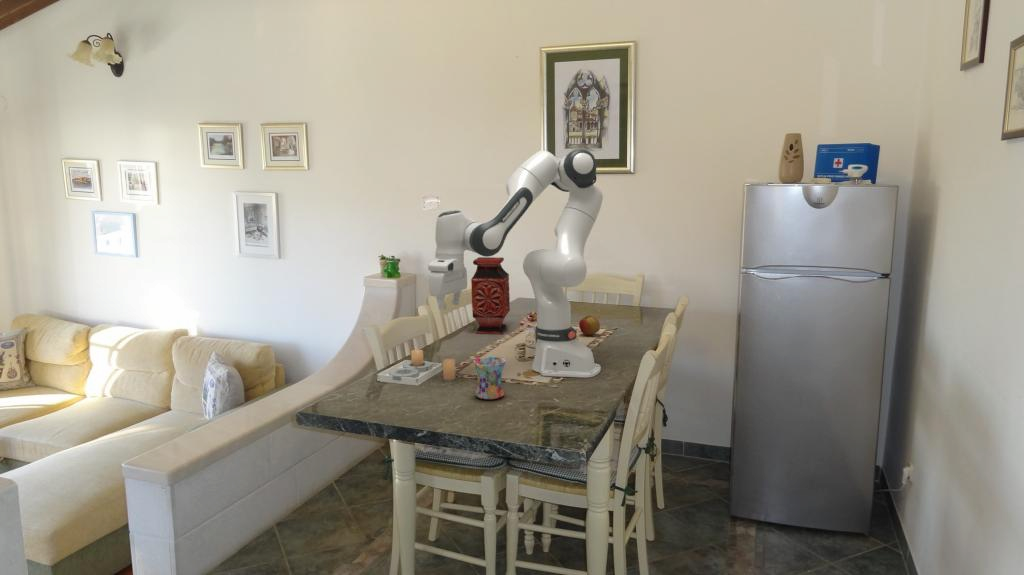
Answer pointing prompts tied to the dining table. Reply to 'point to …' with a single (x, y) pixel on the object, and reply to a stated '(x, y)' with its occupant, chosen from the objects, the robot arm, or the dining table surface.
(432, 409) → the dining table surface
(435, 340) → the dining table surface
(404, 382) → the white candle tray
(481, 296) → the vase
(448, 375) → the orange pillar candle
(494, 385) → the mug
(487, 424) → the dining table surface
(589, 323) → the apple
